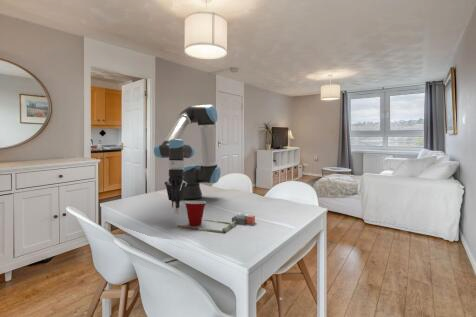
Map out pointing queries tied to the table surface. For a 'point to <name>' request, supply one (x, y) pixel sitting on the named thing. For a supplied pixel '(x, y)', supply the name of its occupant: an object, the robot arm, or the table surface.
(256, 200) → the table surface
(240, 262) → the table surface
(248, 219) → the dome housing
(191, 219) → the plastic cup
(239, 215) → the dome
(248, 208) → the table surface
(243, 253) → the table surface
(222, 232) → the u-shaped frame
